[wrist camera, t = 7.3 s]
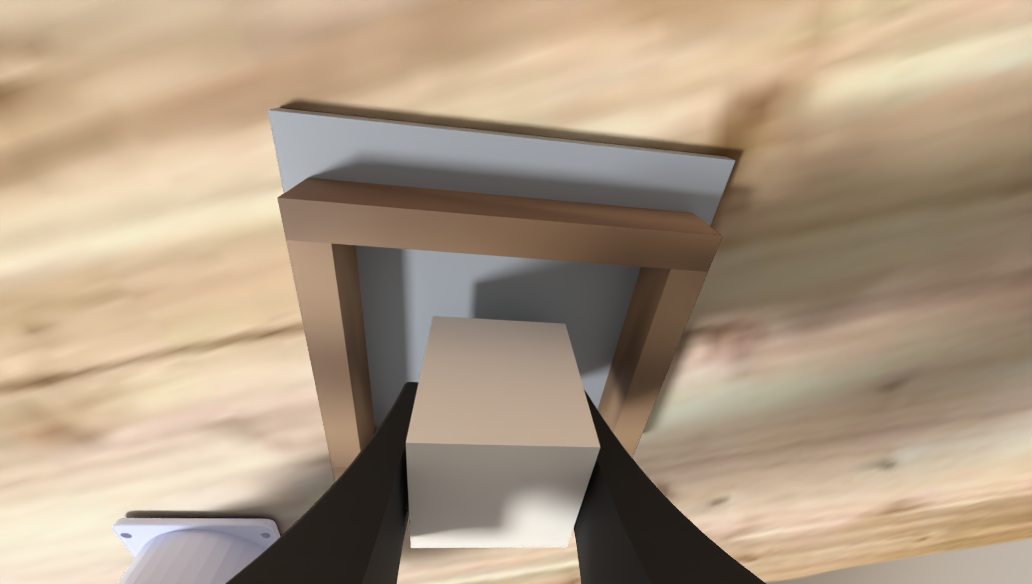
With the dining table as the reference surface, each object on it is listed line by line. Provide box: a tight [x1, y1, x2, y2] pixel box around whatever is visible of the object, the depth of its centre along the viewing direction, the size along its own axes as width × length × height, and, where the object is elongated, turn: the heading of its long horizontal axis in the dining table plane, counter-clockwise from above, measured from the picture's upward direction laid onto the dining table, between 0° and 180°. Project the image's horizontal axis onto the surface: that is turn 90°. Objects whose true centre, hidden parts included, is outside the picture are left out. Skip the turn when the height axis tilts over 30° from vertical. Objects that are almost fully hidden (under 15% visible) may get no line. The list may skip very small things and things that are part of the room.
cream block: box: [406, 316, 600, 548], centre depth 12 cm, size 4×4×5 cm
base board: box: [268, 108, 735, 428], centre depth 16 cm, size 16×14×1 cm
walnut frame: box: [278, 178, 722, 482], centre depth 15 cm, size 12×12×2 cm
